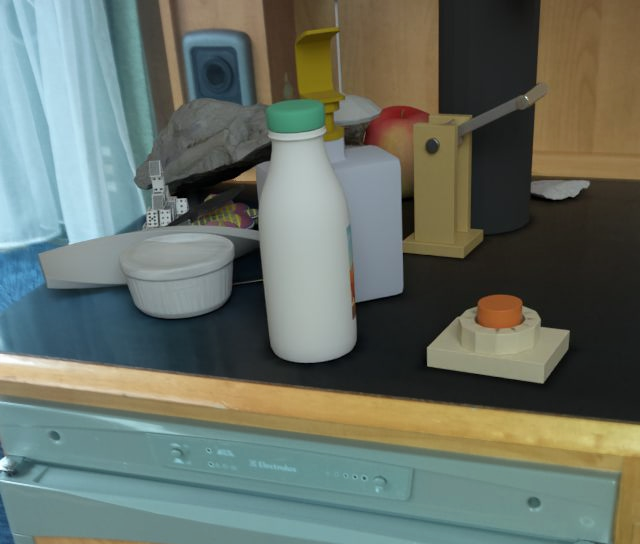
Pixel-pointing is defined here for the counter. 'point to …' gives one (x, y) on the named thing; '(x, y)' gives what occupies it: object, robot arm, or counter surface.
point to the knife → (248, 280)
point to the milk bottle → (305, 240)
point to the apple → (397, 139)
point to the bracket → (442, 189)
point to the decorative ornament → (229, 216)
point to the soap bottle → (355, 178)
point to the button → (499, 311)
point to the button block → (499, 348)
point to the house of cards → (163, 201)
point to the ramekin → (179, 274)
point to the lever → (502, 109)
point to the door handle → (103, 255)
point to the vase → (492, 100)
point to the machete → (208, 206)
